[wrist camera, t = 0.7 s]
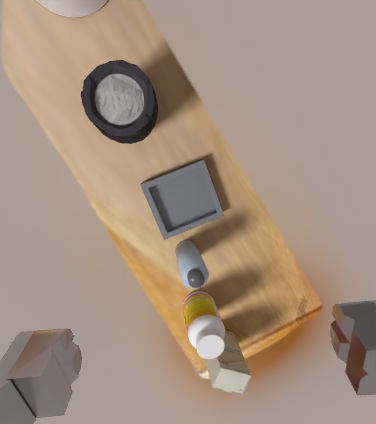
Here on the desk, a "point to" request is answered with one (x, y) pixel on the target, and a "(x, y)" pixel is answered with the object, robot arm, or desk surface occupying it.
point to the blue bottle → (191, 264)
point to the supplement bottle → (204, 324)
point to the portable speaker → (120, 101)
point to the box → (182, 199)
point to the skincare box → (229, 367)
